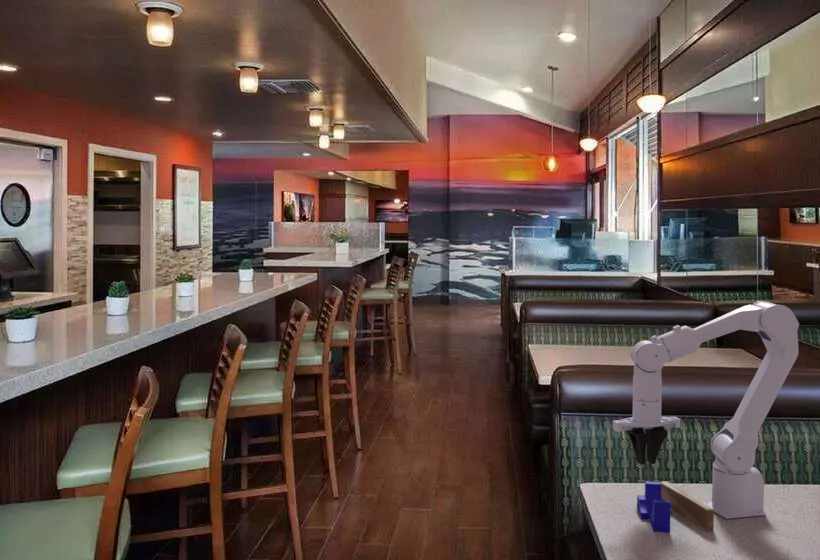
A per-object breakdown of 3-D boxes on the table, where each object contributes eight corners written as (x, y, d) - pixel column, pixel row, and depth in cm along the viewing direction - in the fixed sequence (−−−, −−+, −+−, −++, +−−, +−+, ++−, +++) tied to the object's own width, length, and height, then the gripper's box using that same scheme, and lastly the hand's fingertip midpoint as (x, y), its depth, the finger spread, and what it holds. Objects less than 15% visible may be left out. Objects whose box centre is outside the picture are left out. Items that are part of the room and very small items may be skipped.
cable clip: (637, 508, 150) (637, 480, 150) (659, 510, 150) (660, 482, 149) (645, 532, 139) (646, 501, 138) (670, 533, 138) (670, 503, 138)
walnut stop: (666, 500, 154) (667, 481, 154) (713, 530, 139) (714, 508, 138) (660, 501, 154) (660, 481, 154) (706, 531, 138) (706, 509, 138)
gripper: (667, 392, 155) (666, 454, 156) (605, 396, 152) (605, 459, 153) (686, 400, 148) (685, 464, 149) (622, 404, 145) (621, 470, 146)
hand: (645, 462), depth 150 cm, fingers closed
